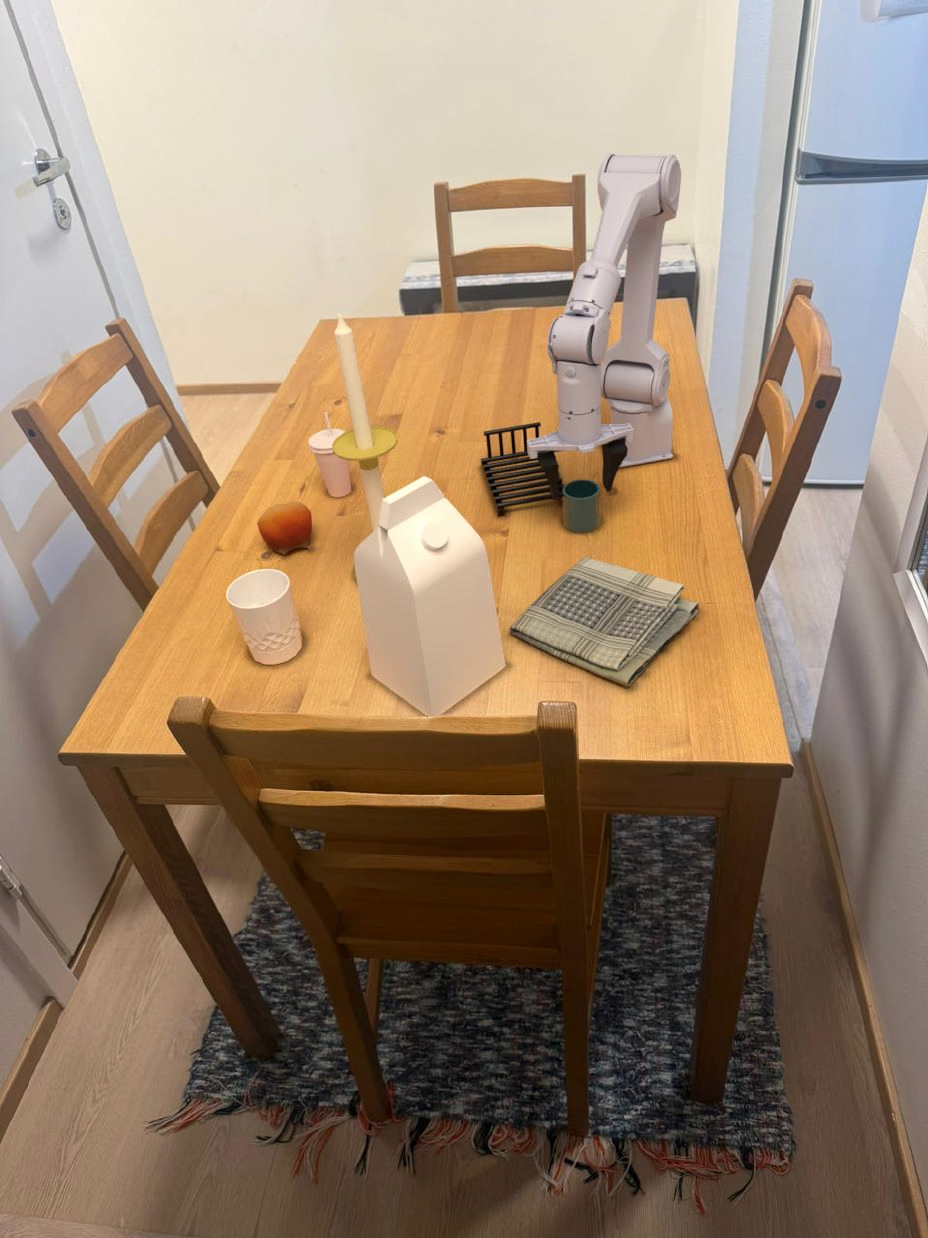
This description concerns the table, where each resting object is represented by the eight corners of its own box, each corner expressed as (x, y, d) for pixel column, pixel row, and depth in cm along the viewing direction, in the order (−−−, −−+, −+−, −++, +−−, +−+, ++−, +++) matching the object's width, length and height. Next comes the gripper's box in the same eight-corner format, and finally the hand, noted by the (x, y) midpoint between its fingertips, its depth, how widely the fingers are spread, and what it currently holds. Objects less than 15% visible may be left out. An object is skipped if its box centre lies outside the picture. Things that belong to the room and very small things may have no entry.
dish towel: (504, 636, 111) (503, 617, 109) (583, 565, 121) (583, 546, 119) (631, 694, 101) (632, 674, 99) (706, 611, 111) (708, 591, 109)
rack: (546, 456, 145) (545, 419, 141) (569, 504, 133) (568, 465, 129) (481, 468, 144) (477, 431, 140) (498, 516, 133) (494, 477, 129)
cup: (594, 510, 131) (594, 476, 128) (604, 529, 127) (604, 495, 124) (560, 516, 131) (558, 482, 127) (568, 535, 127) (567, 501, 123)
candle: (435, 554, 127) (396, 295, 103) (404, 596, 120) (354, 329, 96) (375, 544, 131) (324, 291, 107) (341, 583, 124) (279, 323, 100)
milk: (443, 627, 114) (415, 449, 98) (505, 666, 107) (487, 482, 91) (371, 675, 108) (329, 496, 92) (432, 720, 101) (398, 535, 85)
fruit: (276, 563, 127) (255, 511, 125) (268, 563, 134) (249, 514, 133) (328, 544, 129) (308, 492, 128) (318, 545, 137) (299, 496, 135)
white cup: (250, 632, 118) (230, 573, 111) (308, 624, 117) (291, 564, 111) (244, 672, 111) (222, 612, 105) (305, 664, 111) (287, 603, 105)
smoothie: (352, 502, 140) (335, 422, 131) (315, 501, 142) (295, 422, 133) (364, 480, 145) (348, 403, 136) (327, 480, 147) (309, 403, 138)
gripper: (532, 427, 114) (537, 515, 122) (641, 409, 115) (638, 498, 123) (521, 404, 119) (527, 490, 128) (625, 386, 120) (623, 473, 129)
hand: (581, 492), depth 126 cm, fingers open, 7 cm apart
